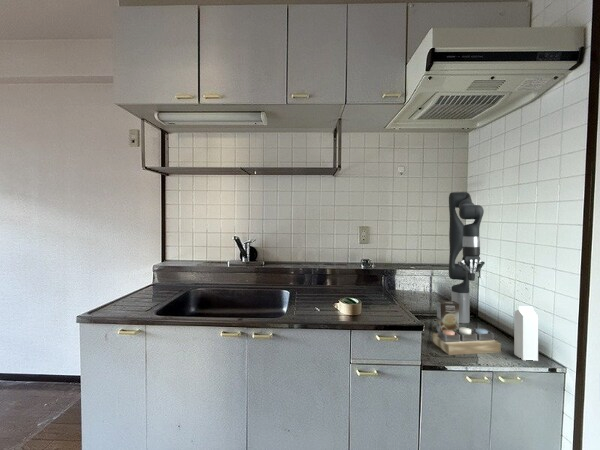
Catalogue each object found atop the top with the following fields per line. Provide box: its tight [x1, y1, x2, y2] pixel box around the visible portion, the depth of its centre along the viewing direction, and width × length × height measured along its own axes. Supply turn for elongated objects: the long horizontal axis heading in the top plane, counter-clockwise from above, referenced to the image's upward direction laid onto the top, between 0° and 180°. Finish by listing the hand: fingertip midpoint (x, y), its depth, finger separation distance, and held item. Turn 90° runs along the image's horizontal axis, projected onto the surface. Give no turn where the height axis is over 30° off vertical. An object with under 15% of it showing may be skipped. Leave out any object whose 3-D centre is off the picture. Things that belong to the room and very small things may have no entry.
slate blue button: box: [474, 328, 489, 334], centre depth 140 cm, size 5×5×2 cm
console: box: [432, 328, 502, 356], centre depth 140 cm, size 14×24×7 cm, turn 94°
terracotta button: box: [443, 330, 455, 335], centre depth 139 cm, size 5×5×2 cm
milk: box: [513, 305, 539, 362], centre depth 128 cm, size 6×6×22 cm
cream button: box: [459, 326, 472, 335], centre depth 139 cm, size 5×5×2 cm
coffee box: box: [436, 299, 460, 332], centre depth 158 cm, size 9×6×16 cm
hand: (471, 280), depth 149 cm, fingers closed
